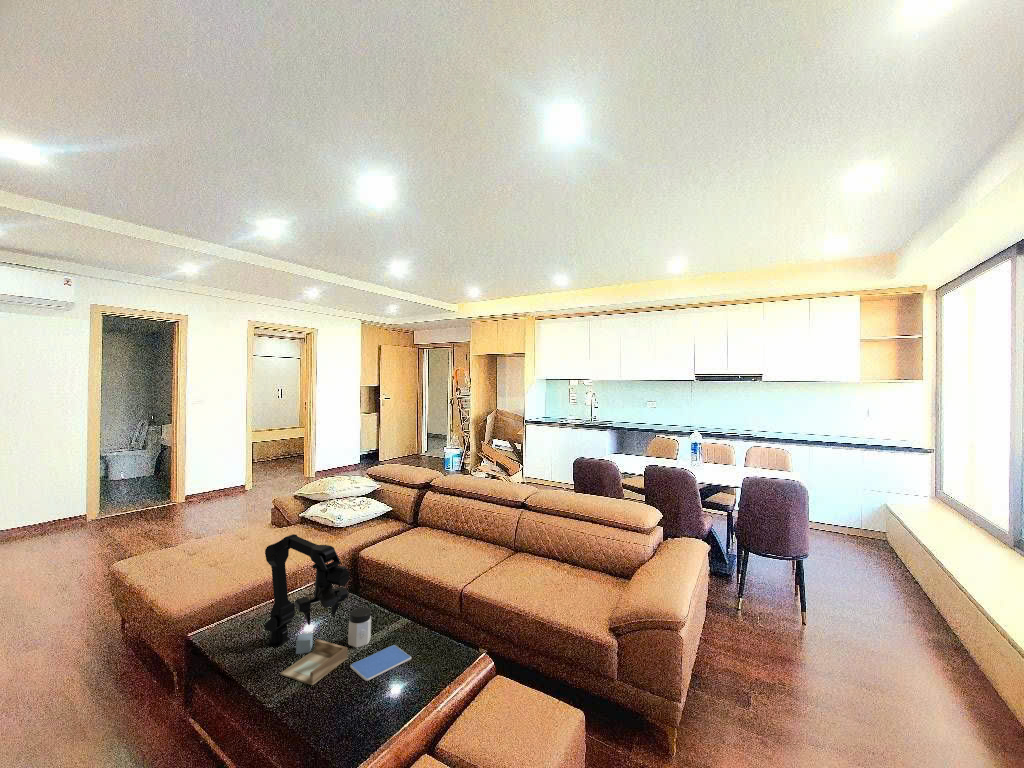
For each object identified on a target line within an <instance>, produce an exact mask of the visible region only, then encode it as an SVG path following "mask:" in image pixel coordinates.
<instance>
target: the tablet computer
mask: <svg viewBox="0 0 1024 768" xmlns="http://www.w3.org/2000/svg"><path fill="white" fill-rule="evenodd" d="M411 660H412V656H411V655H410V654H407V652H405V651H404V650H403V649H401V647H399V646H397V645H395V644H393V645H390V646H388V647H386V648H383V649H381V650H380V651H377V652H375V653H373V654H371V655H369V656H367V657H364V658H362V659H360V660H358V661H355V662H353V663H351V664H350V665H349V668H350V669H351V670H353V672H354V673H356V674H357V675H358V676H359V677H360V678H361V679H362V680H364V681H365V682H368V681H370V680H372V679H374V678H376V677H379V676H380V675H382V674H384V673H386V672H388V671H390V670H392V669H394V668H396V667H398V666H399V665H402V664H404V663H406V662H409V661H411Z"/></svg>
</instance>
